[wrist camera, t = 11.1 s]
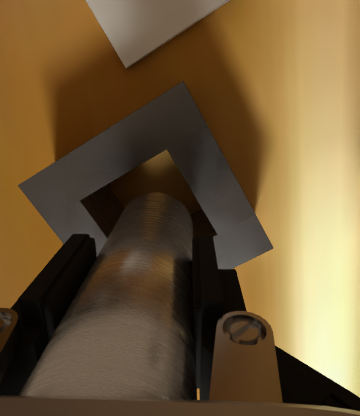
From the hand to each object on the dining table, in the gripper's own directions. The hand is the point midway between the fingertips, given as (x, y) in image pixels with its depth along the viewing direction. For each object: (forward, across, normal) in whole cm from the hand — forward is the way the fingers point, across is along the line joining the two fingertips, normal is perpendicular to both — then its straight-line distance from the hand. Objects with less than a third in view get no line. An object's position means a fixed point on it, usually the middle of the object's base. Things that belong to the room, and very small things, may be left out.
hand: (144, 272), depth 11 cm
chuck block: (+11, +1, 0) cm, 11 cm away
